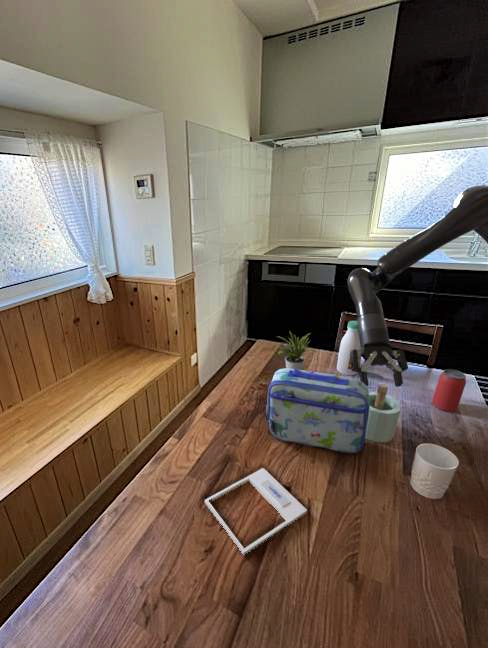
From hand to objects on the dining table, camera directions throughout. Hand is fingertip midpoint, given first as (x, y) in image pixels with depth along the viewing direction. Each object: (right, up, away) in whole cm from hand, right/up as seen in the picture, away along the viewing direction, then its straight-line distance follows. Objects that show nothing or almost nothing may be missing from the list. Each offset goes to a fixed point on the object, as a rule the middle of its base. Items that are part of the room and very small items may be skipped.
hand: (382, 386), depth 93 cm
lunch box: (-18, -16, +4) cm, 24 cm away
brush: (+1, -13, +5) cm, 14 cm away
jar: (+1, -14, +6) cm, 15 cm away
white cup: (+3, -22, -13) cm, 26 cm away
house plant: (-12, 0, +38) cm, 40 cm away
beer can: (+28, -9, +14) cm, 32 cm away
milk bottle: (+8, 0, +36) cm, 37 cm away
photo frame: (-39, -26, -15) cm, 49 cm away
